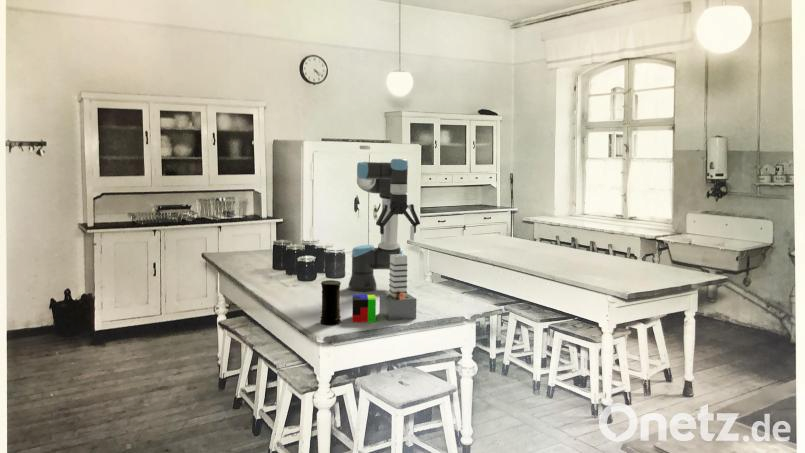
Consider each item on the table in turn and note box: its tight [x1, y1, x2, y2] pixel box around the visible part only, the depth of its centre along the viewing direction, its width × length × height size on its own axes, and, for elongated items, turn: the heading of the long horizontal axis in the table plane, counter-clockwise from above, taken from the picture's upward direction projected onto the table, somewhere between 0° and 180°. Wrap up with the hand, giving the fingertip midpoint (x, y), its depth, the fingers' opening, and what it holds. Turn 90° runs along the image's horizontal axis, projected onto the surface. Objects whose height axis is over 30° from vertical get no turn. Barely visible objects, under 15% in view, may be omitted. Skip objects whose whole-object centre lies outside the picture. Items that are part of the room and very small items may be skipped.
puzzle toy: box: [351, 294, 377, 323], centre depth 292 cm, size 10×10×10 cm
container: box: [319, 279, 342, 326], centre depth 285 cm, size 9×9×18 cm
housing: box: [378, 292, 418, 322], centre depth 298 cm, size 13×13×12 cm
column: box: [388, 253, 408, 299], centre depth 297 cm, size 6×6×20 cm
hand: (397, 240), depth 296 cm, fingers open, 13 cm apart
